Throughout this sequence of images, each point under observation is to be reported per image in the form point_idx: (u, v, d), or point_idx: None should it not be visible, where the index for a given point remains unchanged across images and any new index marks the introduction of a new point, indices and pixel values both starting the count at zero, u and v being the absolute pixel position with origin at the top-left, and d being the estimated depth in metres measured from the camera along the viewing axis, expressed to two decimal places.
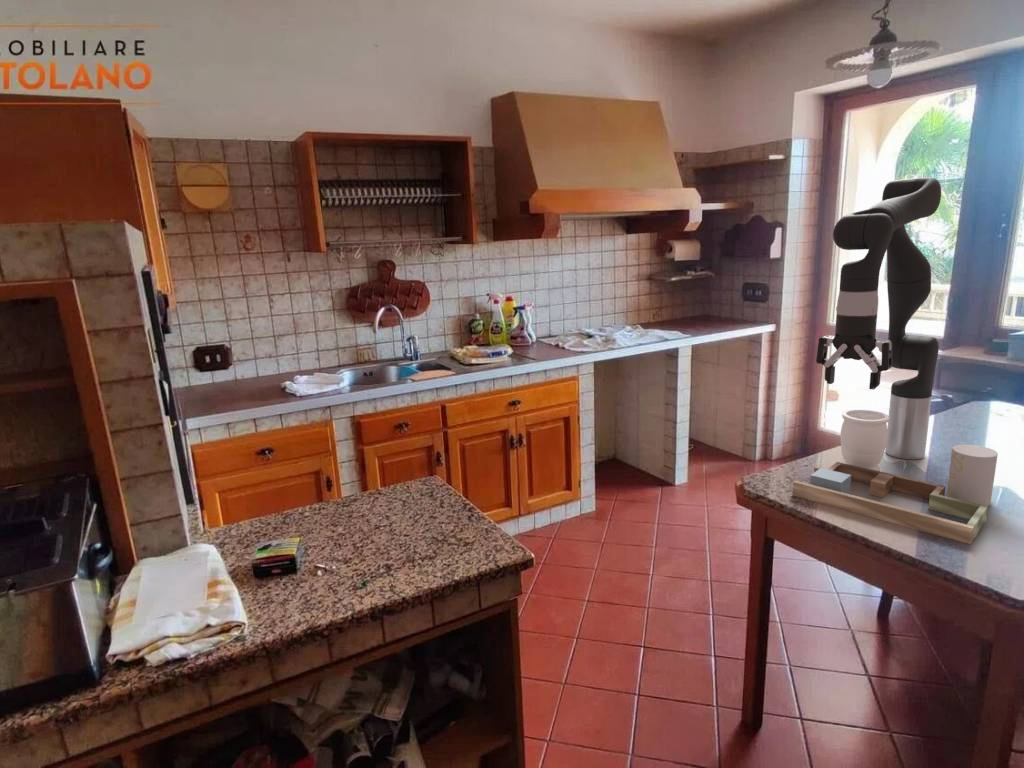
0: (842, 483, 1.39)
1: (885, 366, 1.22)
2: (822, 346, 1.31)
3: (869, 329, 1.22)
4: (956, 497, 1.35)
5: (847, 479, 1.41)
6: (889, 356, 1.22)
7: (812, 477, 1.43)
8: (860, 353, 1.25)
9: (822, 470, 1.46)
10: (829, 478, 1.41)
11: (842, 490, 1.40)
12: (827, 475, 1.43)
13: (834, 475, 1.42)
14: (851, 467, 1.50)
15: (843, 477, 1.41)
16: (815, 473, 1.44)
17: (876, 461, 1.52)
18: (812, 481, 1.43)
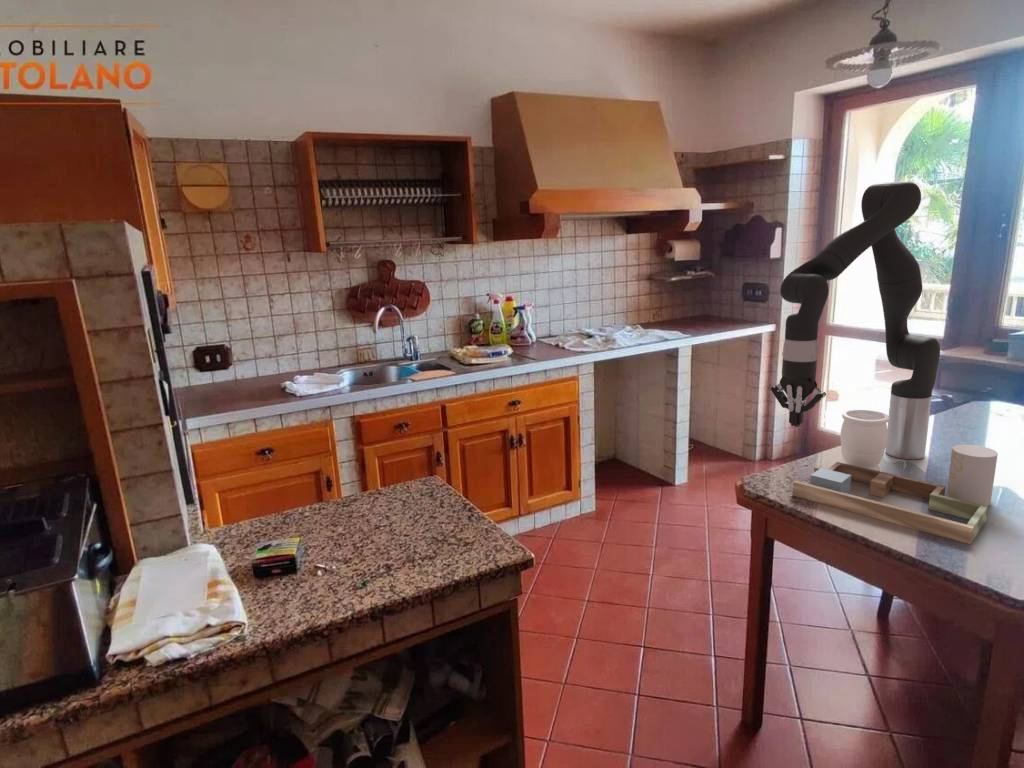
0: (842, 483, 1.39)
1: (806, 408, 1.43)
2: (777, 393, 1.47)
3: (809, 373, 1.40)
4: (956, 497, 1.35)
5: (847, 479, 1.41)
6: (815, 404, 1.42)
7: (812, 477, 1.43)
8: (798, 393, 1.43)
9: (822, 470, 1.46)
10: (829, 478, 1.41)
11: (842, 490, 1.40)
12: (827, 475, 1.43)
13: (834, 475, 1.42)
14: (851, 467, 1.50)
15: (843, 477, 1.41)
16: (815, 473, 1.44)
17: (876, 461, 1.52)
18: (812, 481, 1.43)
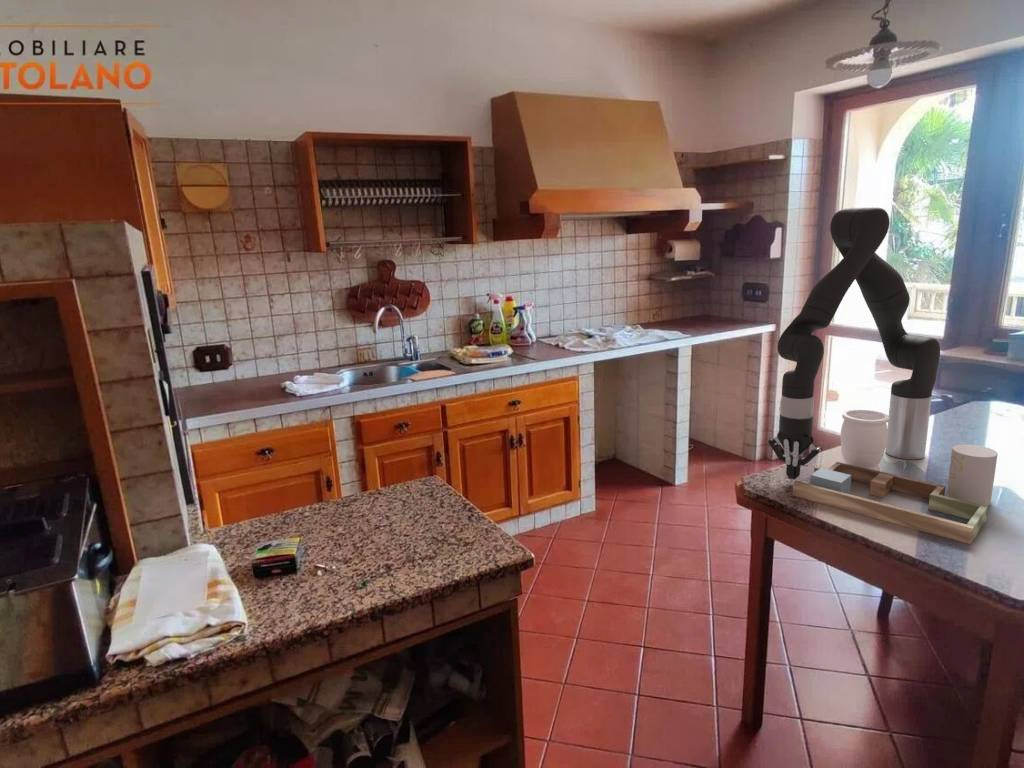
0: (842, 483, 1.39)
1: (803, 463, 1.46)
2: (774, 446, 1.51)
3: (806, 429, 1.43)
4: (956, 497, 1.35)
5: (847, 479, 1.41)
6: (811, 458, 1.45)
7: (812, 477, 1.43)
8: (795, 448, 1.46)
9: (822, 470, 1.46)
10: (829, 478, 1.41)
11: (842, 490, 1.40)
12: (827, 475, 1.43)
13: (834, 475, 1.42)
14: (851, 467, 1.50)
15: (843, 477, 1.41)
16: (815, 473, 1.44)
17: (876, 461, 1.52)
18: (812, 481, 1.43)
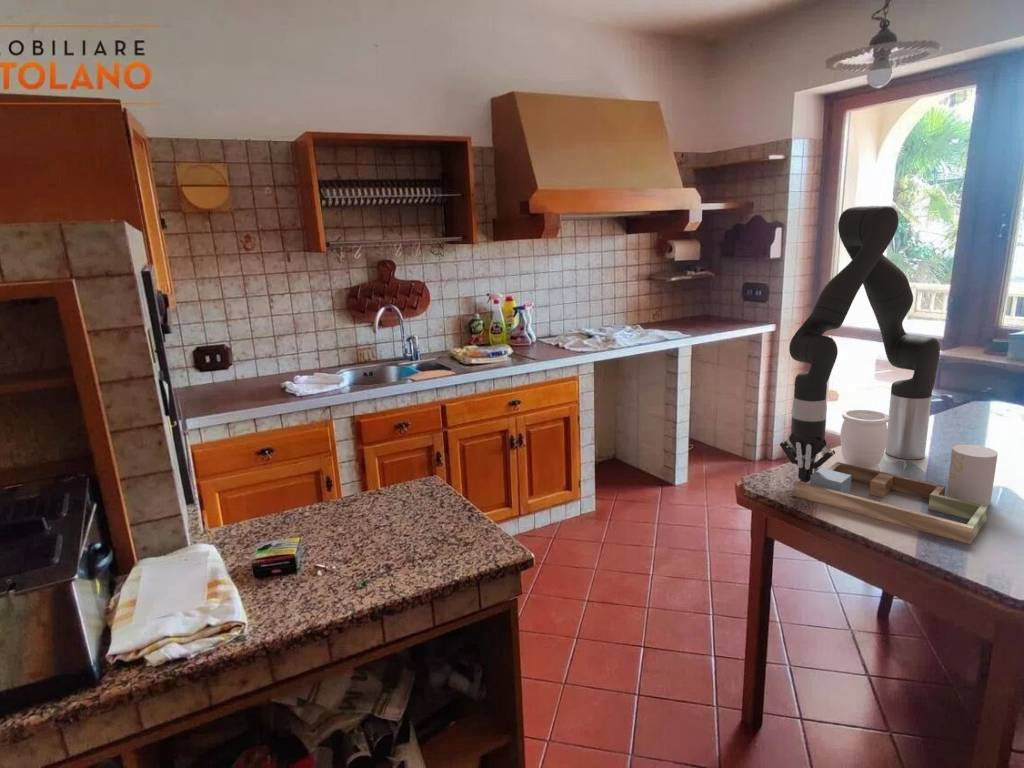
0: (842, 483, 1.39)
1: (816, 466, 1.44)
2: (786, 449, 1.49)
3: (819, 432, 1.41)
4: (956, 497, 1.35)
5: (847, 479, 1.41)
6: (824, 462, 1.43)
7: (812, 477, 1.43)
8: (807, 451, 1.44)
9: (822, 470, 1.46)
10: (829, 478, 1.41)
11: (842, 490, 1.40)
12: (828, 475, 1.43)
13: (834, 475, 1.42)
14: (851, 467, 1.50)
15: (843, 477, 1.41)
16: (815, 473, 1.44)
17: (876, 461, 1.52)
18: (812, 481, 1.43)
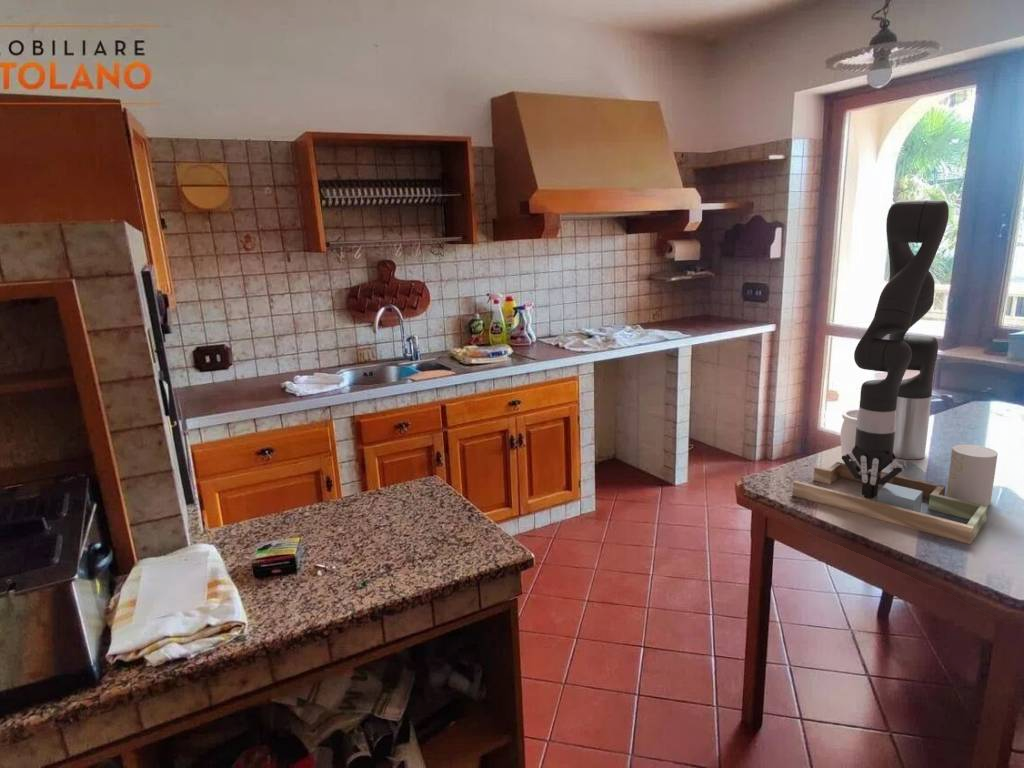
0: (915, 500, 1.28)
1: (883, 482, 1.33)
2: (849, 462, 1.38)
3: (888, 445, 1.30)
4: (956, 497, 1.35)
5: (919, 496, 1.30)
6: None
7: (880, 493, 1.32)
8: (874, 465, 1.33)
9: (889, 485, 1.35)
10: (899, 494, 1.30)
11: (914, 508, 1.29)
12: (897, 491, 1.32)
13: (904, 491, 1.31)
14: None
15: (914, 493, 1.30)
16: (882, 489, 1.33)
17: None
18: (880, 498, 1.32)
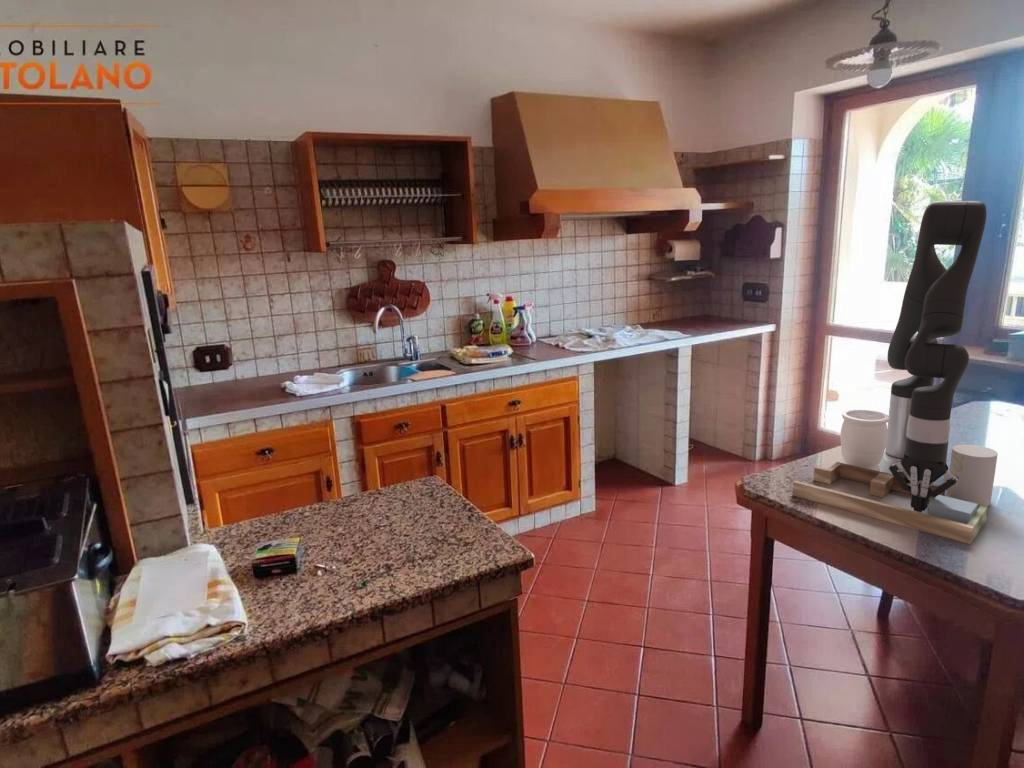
0: (971, 514, 1.21)
1: (935, 494, 1.26)
2: (897, 473, 1.31)
3: (941, 456, 1.23)
4: (956, 497, 1.35)
5: (974, 509, 1.23)
6: (945, 489, 1.25)
7: (932, 506, 1.25)
8: (925, 477, 1.26)
9: (941, 497, 1.28)
10: (953, 507, 1.23)
11: None
12: (950, 504, 1.25)
13: (958, 504, 1.24)
14: (851, 467, 1.50)
15: (969, 506, 1.23)
16: (934, 501, 1.26)
17: (876, 461, 1.52)
18: (932, 511, 1.25)
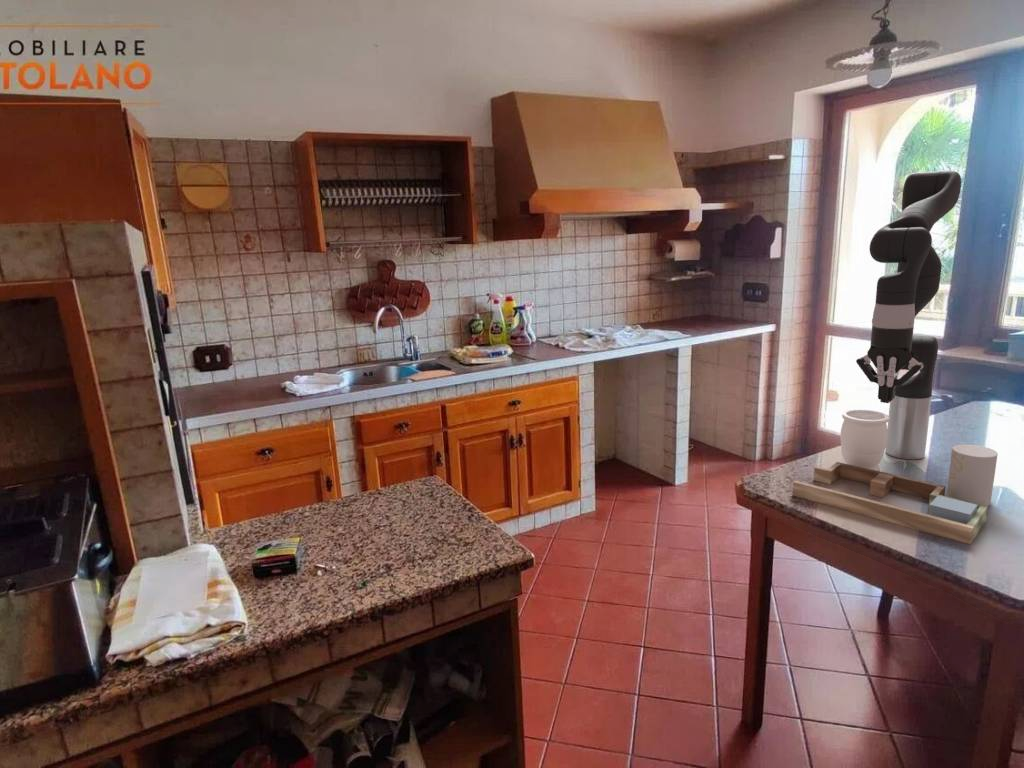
0: (970, 515, 1.21)
1: (901, 382, 1.26)
2: (864, 365, 1.31)
3: (906, 342, 1.23)
4: (956, 497, 1.35)
5: (974, 510, 1.23)
6: (911, 376, 1.25)
7: (932, 507, 1.25)
8: (891, 365, 1.26)
9: (941, 498, 1.28)
10: (953, 508, 1.23)
11: None
12: (950, 504, 1.25)
13: (958, 505, 1.24)
14: (851, 467, 1.50)
15: (969, 507, 1.23)
16: (934, 502, 1.26)
17: (876, 461, 1.52)
18: (932, 511, 1.25)
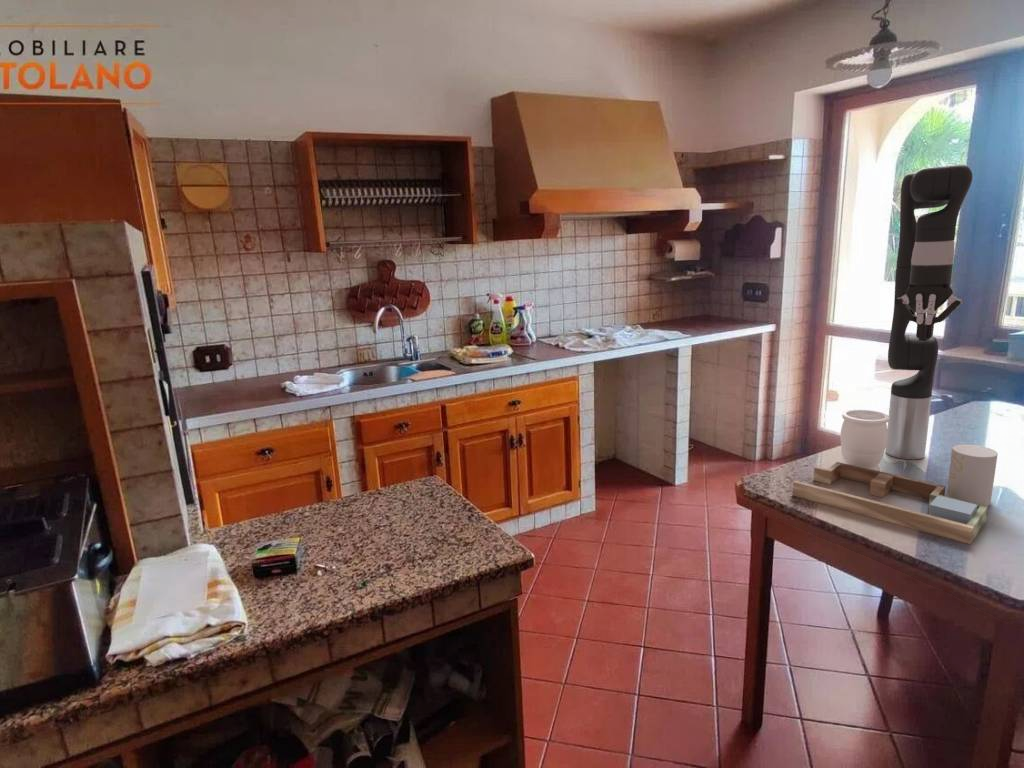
0: (970, 515, 1.21)
1: (940, 319, 1.29)
2: (902, 305, 1.34)
3: (946, 278, 1.26)
4: (956, 497, 1.35)
5: (974, 510, 1.23)
6: (950, 313, 1.28)
7: (932, 507, 1.25)
8: (930, 302, 1.29)
9: (941, 498, 1.28)
10: (953, 508, 1.23)
11: None
12: (950, 504, 1.25)
13: (958, 505, 1.24)
14: (851, 467, 1.50)
15: (969, 507, 1.23)
16: (934, 502, 1.26)
17: (876, 461, 1.52)
18: (932, 511, 1.25)
